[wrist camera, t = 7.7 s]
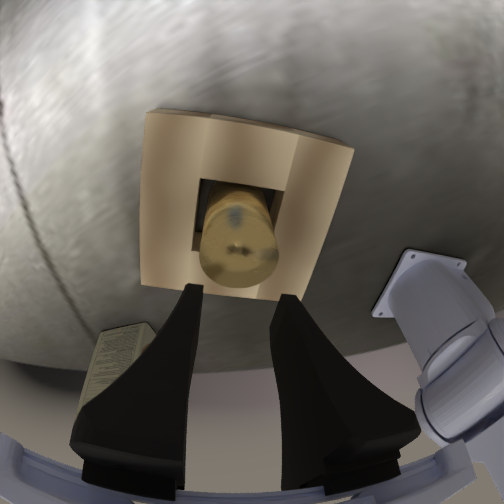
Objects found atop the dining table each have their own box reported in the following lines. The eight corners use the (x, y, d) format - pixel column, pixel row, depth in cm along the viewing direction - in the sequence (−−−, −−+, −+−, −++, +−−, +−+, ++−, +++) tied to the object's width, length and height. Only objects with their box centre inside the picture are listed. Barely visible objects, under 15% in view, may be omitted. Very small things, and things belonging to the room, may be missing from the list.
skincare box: (121, 355, 28) (99, 453, 18) (99, 330, 26) (67, 434, 16) (170, 347, 28) (157, 458, 18) (149, 320, 25) (125, 440, 15)
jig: (340, 140, 18) (354, 149, 15) (294, 282, 24) (300, 302, 22) (157, 108, 16) (146, 112, 14) (148, 264, 22) (141, 284, 20)
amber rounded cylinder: (271, 182, 19) (291, 233, 13) (254, 229, 21) (264, 294, 15) (216, 167, 18) (209, 213, 12) (202, 217, 20) (192, 280, 14)
